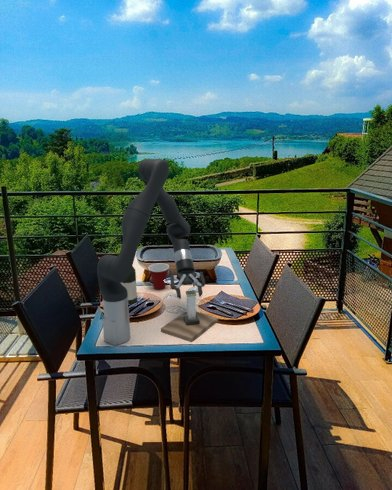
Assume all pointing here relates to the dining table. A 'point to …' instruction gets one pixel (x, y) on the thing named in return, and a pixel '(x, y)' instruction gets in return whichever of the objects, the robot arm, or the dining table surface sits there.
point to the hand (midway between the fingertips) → (190, 297)
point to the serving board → (189, 326)
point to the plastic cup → (158, 275)
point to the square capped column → (191, 309)
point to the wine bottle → (131, 286)
